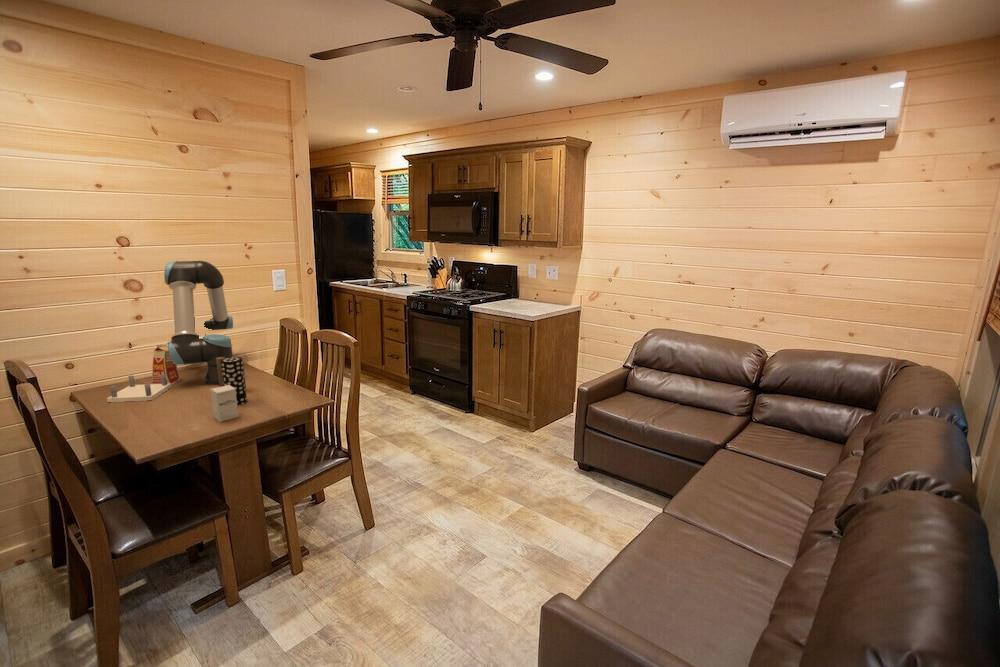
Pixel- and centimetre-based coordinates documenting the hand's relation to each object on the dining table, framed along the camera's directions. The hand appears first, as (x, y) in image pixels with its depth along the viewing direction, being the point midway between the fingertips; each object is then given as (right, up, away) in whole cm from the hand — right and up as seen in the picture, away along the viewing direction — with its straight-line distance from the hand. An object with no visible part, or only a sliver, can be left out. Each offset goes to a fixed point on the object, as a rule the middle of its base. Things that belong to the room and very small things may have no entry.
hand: (171, 356), depth 248 cm
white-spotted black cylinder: (+50, -19, -30) cm, 61 cm away
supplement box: (+54, -23, -46) cm, 75 cm away
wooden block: (+42, -16, -19) cm, 49 cm away
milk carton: (+1, -13, -5) cm, 14 cm away
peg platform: (+1, -16, -22) cm, 27 cm away
